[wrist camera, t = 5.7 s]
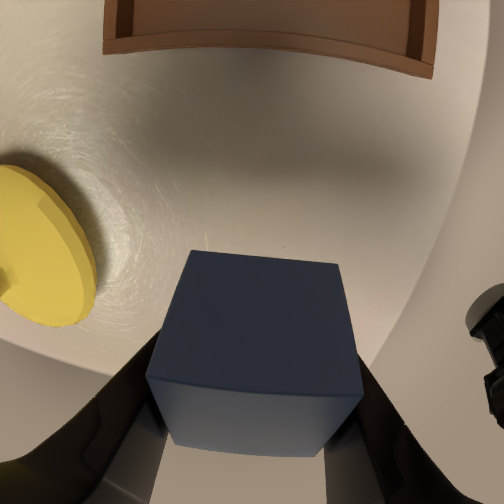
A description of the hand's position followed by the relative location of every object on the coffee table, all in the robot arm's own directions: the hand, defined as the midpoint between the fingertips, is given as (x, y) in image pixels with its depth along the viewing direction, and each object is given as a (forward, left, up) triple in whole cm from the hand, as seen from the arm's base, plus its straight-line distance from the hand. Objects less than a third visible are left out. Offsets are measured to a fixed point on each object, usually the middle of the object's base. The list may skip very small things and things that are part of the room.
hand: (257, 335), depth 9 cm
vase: (+17, +11, -12) cm, 23 cm away
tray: (+10, -29, -12) cm, 33 cm away
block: (0, 0, -1) cm, 1 cm away
